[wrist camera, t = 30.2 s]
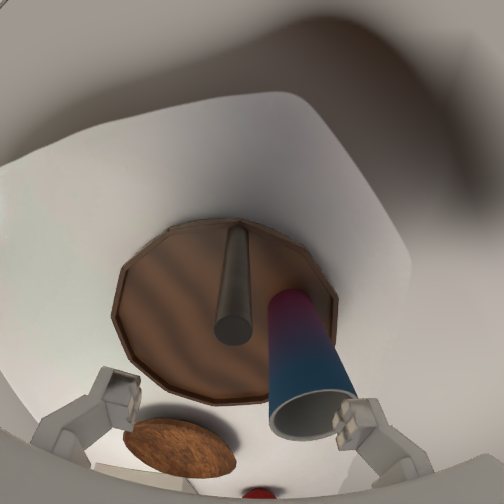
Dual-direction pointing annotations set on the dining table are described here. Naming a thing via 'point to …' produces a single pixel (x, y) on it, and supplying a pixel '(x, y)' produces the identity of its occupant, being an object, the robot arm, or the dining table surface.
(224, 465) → the bowl
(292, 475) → the dining table surface
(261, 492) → the apple
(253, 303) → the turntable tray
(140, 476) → the green flat block
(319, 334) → the cup
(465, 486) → the robot arm
